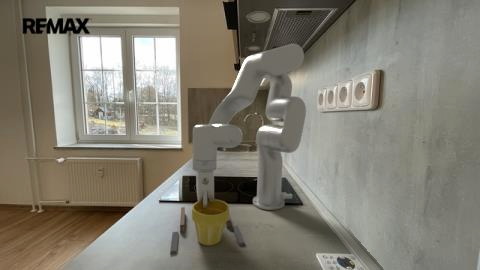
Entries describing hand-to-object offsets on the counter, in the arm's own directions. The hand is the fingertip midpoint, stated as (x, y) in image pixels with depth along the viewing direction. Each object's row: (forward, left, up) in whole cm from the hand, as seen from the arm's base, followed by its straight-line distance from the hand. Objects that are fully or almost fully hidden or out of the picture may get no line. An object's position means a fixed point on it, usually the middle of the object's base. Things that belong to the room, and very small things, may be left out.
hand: (203, 219), depth 70 cm
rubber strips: (0, +8, -2) cm, 9 cm away
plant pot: (-1, +8, -2) cm, 8 cm away
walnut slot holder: (0, -3, -2) cm, 3 cm away
